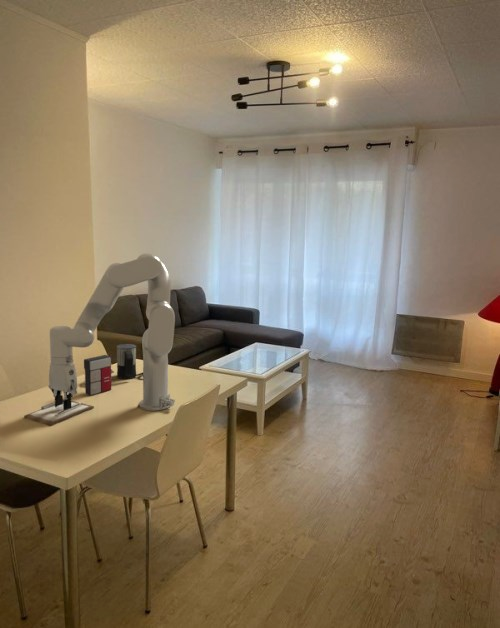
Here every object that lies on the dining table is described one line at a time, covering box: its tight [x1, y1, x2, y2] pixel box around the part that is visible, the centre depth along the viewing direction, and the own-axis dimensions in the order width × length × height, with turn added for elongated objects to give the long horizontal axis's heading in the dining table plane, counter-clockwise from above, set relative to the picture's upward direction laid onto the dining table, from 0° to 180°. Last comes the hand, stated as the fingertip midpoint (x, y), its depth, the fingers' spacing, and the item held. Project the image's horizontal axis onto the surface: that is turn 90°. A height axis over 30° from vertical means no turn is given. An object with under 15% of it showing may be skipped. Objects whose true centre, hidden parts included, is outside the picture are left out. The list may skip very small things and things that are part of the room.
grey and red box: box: [83, 354, 112, 396], centre depth 202 cm, size 11×4×15 cm, turn 143°
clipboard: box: [23, 400, 95, 426], centre depth 179 cm, size 14×20×2 cm
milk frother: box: [116, 343, 143, 380], centre depth 226 cm, size 14×16×15 cm
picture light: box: [55, 401, 82, 415], centre depth 178 cm, size 14×4×2 cm, turn 159°
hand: (63, 407), depth 178 cm, fingers closed on picture light, 3 cm apart
